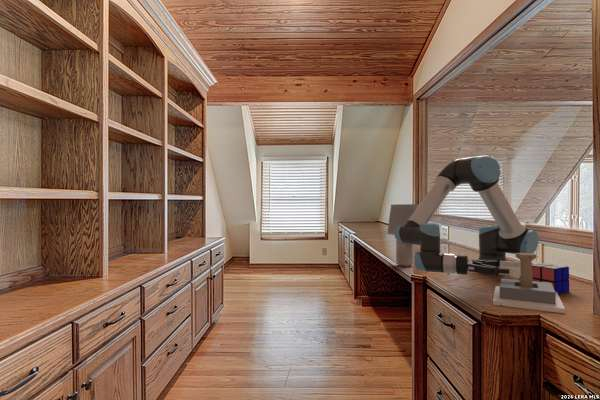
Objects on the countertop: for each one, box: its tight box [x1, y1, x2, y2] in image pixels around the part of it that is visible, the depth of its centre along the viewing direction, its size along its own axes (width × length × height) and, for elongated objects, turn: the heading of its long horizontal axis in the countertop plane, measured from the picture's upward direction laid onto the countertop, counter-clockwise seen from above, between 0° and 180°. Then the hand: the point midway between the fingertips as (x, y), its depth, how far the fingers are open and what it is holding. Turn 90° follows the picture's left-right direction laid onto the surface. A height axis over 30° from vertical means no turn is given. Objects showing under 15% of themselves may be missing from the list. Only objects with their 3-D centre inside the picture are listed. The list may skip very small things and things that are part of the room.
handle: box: [515, 253, 537, 288], centre depth 129 cm, size 5×6×15 cm
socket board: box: [492, 278, 566, 314], centre depth 129 cm, size 24×20×6 cm
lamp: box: [387, 203, 420, 268], centre depth 199 cm, size 19×19×34 cm
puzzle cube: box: [532, 262, 570, 295], centre depth 142 cm, size 10×10×10 cm
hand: (520, 268), depth 130 cm, fingers open, 13 cm apart
